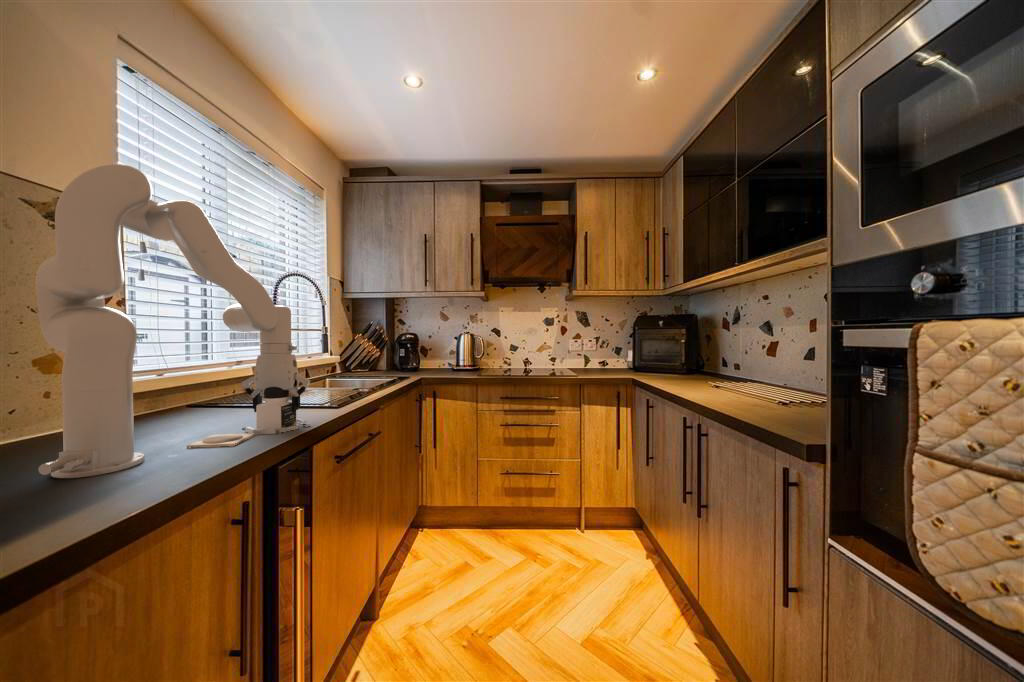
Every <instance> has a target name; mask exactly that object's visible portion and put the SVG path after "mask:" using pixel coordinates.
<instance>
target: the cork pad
mask: <svg viewBox="0 0 1024 682" xmlns="http://www.w3.org/2000/svg"><path fill="white" fill-rule="evenodd" d="M255 436H256V434H255V433H247V432H245V433H227V434H226V433H225V434H223V433H222V434H211V435H209V436H207V437H204V438H202V439H200V440H197V441H194V442H192V443H190V444H187V445H186V449H190V448H189V447H206V448H221V447H220V446H229V447H236V446H237V444H238V445H240V444H242V443H244V442H246V441H247V439H248V440H249V439H251V438H253V437H255ZM245 440H246V441H245ZM243 441H244V442H243ZM241 442H242V443H241ZM239 443H240V444H239ZM235 445H236V446H235Z"/></svg>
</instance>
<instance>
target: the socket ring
mask: <svg viewBox="0 0 1024 682" xmlns="http://www.w3.org/2000/svg"><path fill="white" fill-rule="evenodd" d="M296 422H298V423H301V424H305V423H308V422H307V420H306V419H303V418H300V417H298V418H297V417H296ZM301 424H300V425H301ZM310 425H311V424H306V425H303V426H310ZM310 427H311V426H310ZM244 429H245V430H244ZM295 429H298V430H299V424H296V425H293V426H287V427H282V428H278V431H277V428H273V429H257V428H255V427H252V426H244V427H242V428H241V430H242V431H245V432H244V433H247V432H248V433H255V436H256V435H273V434H274V435H275V434H282V433H281V432H284V433H287V432H286V431H289V432H291V431H290V430H294V431H296V430H295Z"/></svg>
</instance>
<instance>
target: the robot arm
mask: <svg viewBox="0 0 1024 682" xmlns="http://www.w3.org/2000/svg"><path fill="white" fill-rule="evenodd" d="M152 195H153V187H152V183H151V181H150V179H149V177H148V176H147V175H146V174H145V173H144V172H142V171H141V170H139V168H136V167H133V166H131V165H127V164H122V163H120V164H119V163H112V164H110V163H109V164H105V165H104V164H103V165H99V166H96V167H94V168H90V169H88V170H86V171H84V172H82V173H81V174H79V175H78V176H76V177H75V178H74V179H73V180H71V181H70V182H69V183H68V184H67V185H66V186H65V188H64V189H63V191H62V192H61V193H60V196H59V197H58V200H57V203H56V206H55V212H54V230H55V231H54V237H55V240H54V241H55V255H53V256H50V257H48V258H47V259H45V260H44V261H43V262H42V263H41V264H40V265H39V267H38V269H37V272H36V275H35V290H36V301H37V308H38V316H39V317H38V318H39V324H40V325H39V326H40V330H41V334H42V337H43V339H44V340H45V342H46V343H47V344H48V345H49V346H50V347H52V348H53V349H55V350H57V351H59V352H62V353H63V354H64V359H63V364H62V370H61V371H62V372H61V391H62V392H61V395H62V397H61V400H62V401H61V402H62V405H61V406H62V440H63V441H62V442H63V445H62V446H63V448H62V449H63V450H62V451H61V452H60V451H59V452H58V458H57V459H55V460H52V461H48V462H45V463H42V464H40V465H39V466H38V472H39V474H41V475H42V476H43V475H45V476H46V475H49V474H50V476H51V477H52V478H55V479H56V478H57V479H76V478H86V477H87V478H88V477H93V476H99V475H104V474H109V473H114V472H119V471H123V470H126V469H129V468H132V467H135V466H138V465H140V464H141V463H144V461H145V453H142V452H135V438H134V436H135V433H134V431H135V429H134V426H135V425H134V386H133V382H134V381H133V379H134V378H133V376H134V373H133V371H134V370H133V368H134V357H135V352H136V346H137V340H138V338H137V337H138V333H137V327H136V325H135V322H134V321H132V319H131V318H130V317H129V316H128V315H126V314H125V313H124V312H122V311H121V310H118V309H115V308H111V307H107V306H106V301H105V299H108V298H111V297H113V296H115V295H117V294H118V293H120V292H121V290H122V288H124V283H125V274H124V266H123V258H122V250H121V249H122V248H121V227H123V228H127V229H129V230H131V231H133V232H136V233H140V234H141V235H143V236H147V237H150V238H152V239H156V240H158V241H163V242H174V244H175V246H176V247H177V249H178V250H179V251H180V252H181V254H182V255H183V257H184V259H185V260H186V261H187V264H188V265H189V266H190V267H191V269H192V271H193V273H195V274H196V276H198V277H199V278H200V277H201V278H202V279H204V280H206V281H208V282H210V283H212V284H215V285H217V286H218V287H220V288H222V289H224V290H225V291H226V292H228V293H229V294H230V295H231V296H232V297H233V298H234V299H235V300H236V301H237V303H234V304H231V305H229V306H228V307H226V308H225V310H224V312H223V314H222V320H223V323H224V325H225V326H226V327H227V328H228V329H230V330H232V331H235V332H242V333H243V332H244V333H245V332H246V333H249V332H251V333H252V332H259V343H260V344H259V347H260V349H259V354H258V355H257V357H256V363H255V366H254V367H255V368H254V375H253V376H252V377H248V378H247V379H246V380H243V381H242V382H241V384H242V386H243V389H244V391H245V392H246V393H247V394H248V395H249V396H250V398H251V399H252V409H253V412H254V413H256V406H257V405H259V404H262V403H263V396H262V395H261V394H262V393H264V390H265V389H266V388H268V387H279V388H282V389H283V390H289V393H291V394H292V395H293V396H291V401H292V411H296V412H297V411H298V410H299V408H300V407H301V396H302V394H303V393H304V392H305V391H307V389H308V387H309V385H310V384H311V380H310V379H309V378H306V377H304V376H302V375H300V374H299V370H298V369H299V367H298V363H297V362H298V361H297V358H296V354H294V353H293V352H294V351H297V349H298V348H297V347H298V346H297V345H295V344H294V345H293V343H292V311H291V309H290V307H288V306H285V305H275V303H274V301H273V300H272V298H271V297H270V295H269V293H268V291H267V290H266V288H265V287H264V286H263V285H262V283H261V282H260V281H259V280H258V279H257V278H256V277H255V276H253V275H252V274H251V273H250V271H249V272H248V271H247V270H246V269H245V268H244V267H243V266H241V264H239V263H238V262H237V261H236V260H235V259H234V258H233V257H232V255H231V253H230V252H229V250H228V248H227V246H226V245H225V243H224V242H223V240H222V239H221V237H220V235H219V233H218V232H217V230H216V229H215V226H213V224H212V223H211V221H210V219H209V217H208V216H207V214H206V213H205V211H204V210H203V209H202V207H201V206H199V205H198V204H196V203H195V202H193V201H190V200H185V199H177V200H175V199H173V200H170V201H166V202H161V203H160V202H158V201H155V200H152V197H153V196H152ZM253 382H254V388H253V387H252V385H251V384H252V383H253ZM300 383H302V384H301V387H300V388H299V384H300Z"/></svg>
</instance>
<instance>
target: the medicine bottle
mask: <svg viewBox="0 0 1024 682" xmlns="http://www.w3.org/2000/svg"><path fill="white" fill-rule="evenodd" d="M263 401H264V403H263V402H262V404H259V405H257V406H256V412H255V413H256V414H255V416H256V429H273V428H277V432H278V428H282V427H287V426H293V425H297V423H296V419H297V410H296V411H292V400H290V391H289V390H283V389H282V388H279V387H268V388H266V389H265V390H264V391H263Z"/></svg>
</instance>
